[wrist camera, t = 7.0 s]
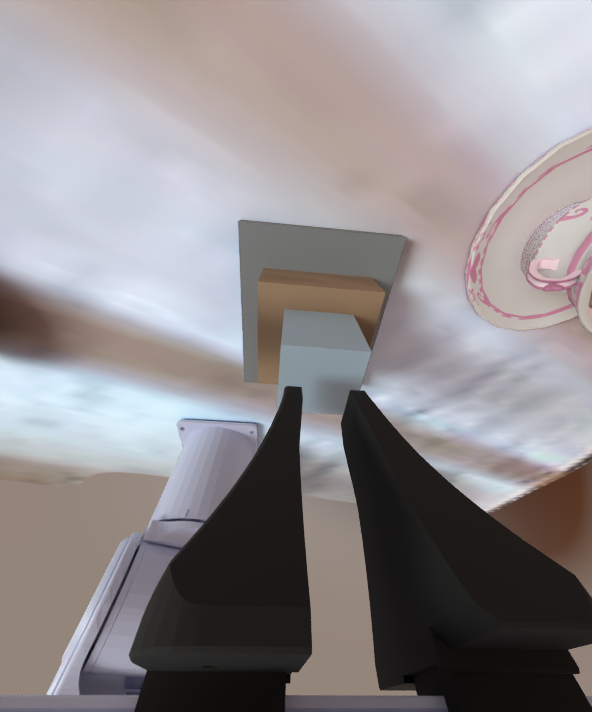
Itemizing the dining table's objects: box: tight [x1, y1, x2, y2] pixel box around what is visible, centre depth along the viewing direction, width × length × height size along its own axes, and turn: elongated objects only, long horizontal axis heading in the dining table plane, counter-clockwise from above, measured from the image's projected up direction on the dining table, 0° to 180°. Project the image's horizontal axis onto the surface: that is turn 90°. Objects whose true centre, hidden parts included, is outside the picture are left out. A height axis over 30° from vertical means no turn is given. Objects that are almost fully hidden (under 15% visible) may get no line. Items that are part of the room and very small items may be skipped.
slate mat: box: [238, 220, 407, 389], centre depth 18 cm, size 12×10×1 cm
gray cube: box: [276, 309, 372, 415], centre depth 13 cm, size 4×4×4 cm
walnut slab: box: [258, 268, 386, 384], centre depth 16 cm, size 7×7×3 cm
